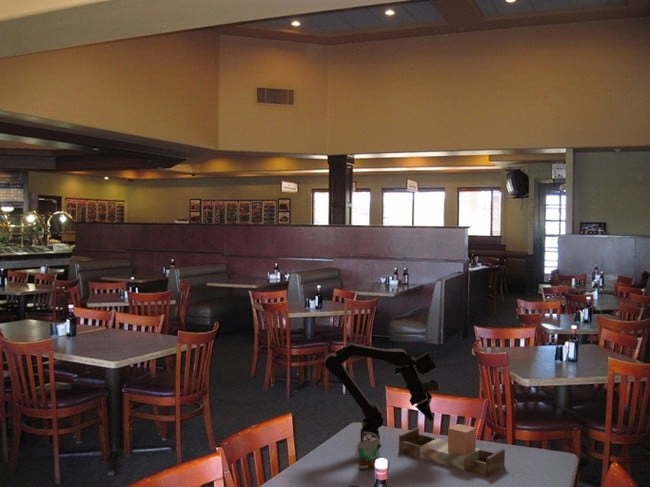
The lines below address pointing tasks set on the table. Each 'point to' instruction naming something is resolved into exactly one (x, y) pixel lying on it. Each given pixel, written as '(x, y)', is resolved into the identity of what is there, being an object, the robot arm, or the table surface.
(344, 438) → the table surface
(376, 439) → the food container
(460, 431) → the terracotta block
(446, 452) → the track
